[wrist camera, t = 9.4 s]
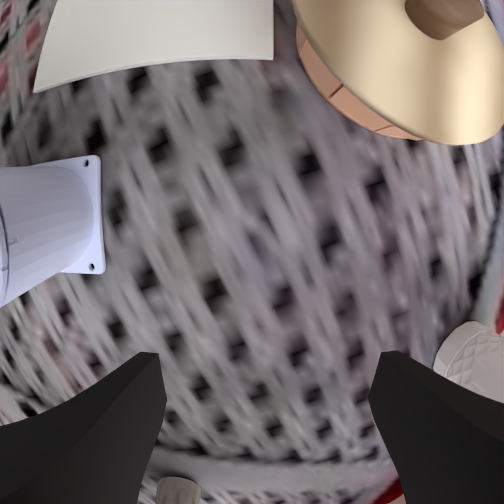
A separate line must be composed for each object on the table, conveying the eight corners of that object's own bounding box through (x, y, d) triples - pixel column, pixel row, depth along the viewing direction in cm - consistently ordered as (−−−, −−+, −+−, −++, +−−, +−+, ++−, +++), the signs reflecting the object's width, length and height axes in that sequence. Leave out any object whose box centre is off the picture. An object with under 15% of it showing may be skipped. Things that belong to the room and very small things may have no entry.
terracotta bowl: (296, 125, 16) (315, 105, 11) (292, -25, 13) (303, -65, 8) (458, 153, 17) (503, 151, 12) (439, 15, 13) (470, -6, 9)
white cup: (415, 388, 22) (464, 459, 12) (445, 315, 20) (519, 377, 10) (467, 378, 22) (516, 432, 12) (495, 313, 20) (559, 358, 10)
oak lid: (303, 130, 12) (333, 106, 7) (279, -73, 8) (286, -117, 4) (514, 161, 12) (562, 165, 7) (469, -16, 8) (500, -36, 4)
